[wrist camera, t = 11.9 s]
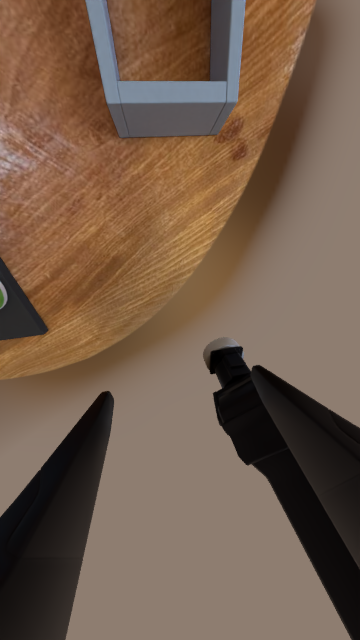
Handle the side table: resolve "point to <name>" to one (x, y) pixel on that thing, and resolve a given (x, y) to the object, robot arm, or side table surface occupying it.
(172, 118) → the holder
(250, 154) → the side table surface
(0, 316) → the mat
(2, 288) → the supplement bottle
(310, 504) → the robot arm
